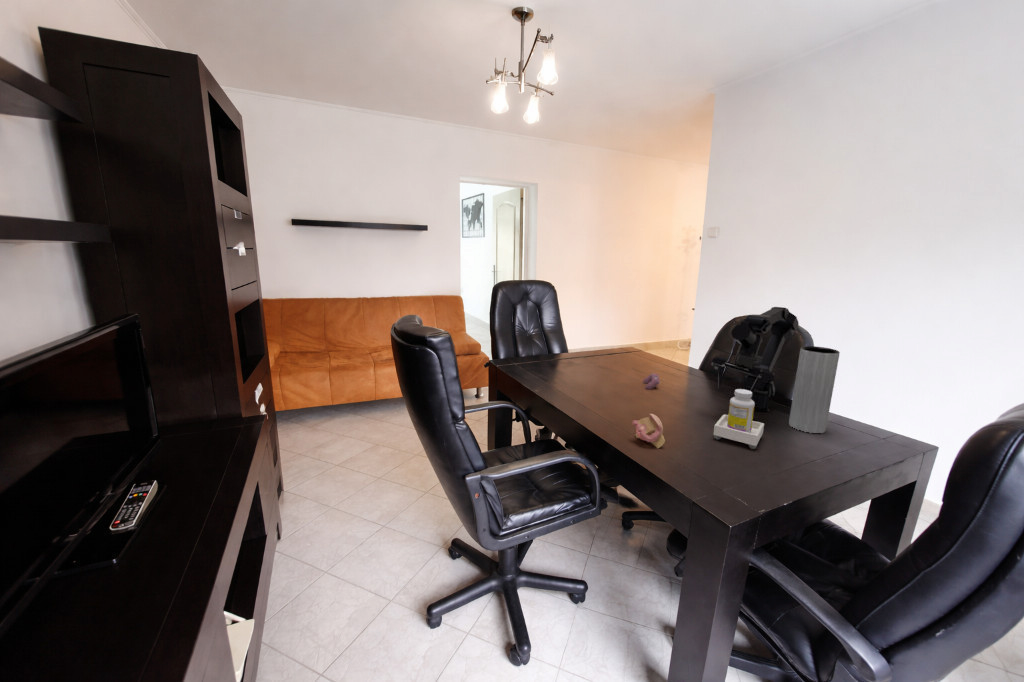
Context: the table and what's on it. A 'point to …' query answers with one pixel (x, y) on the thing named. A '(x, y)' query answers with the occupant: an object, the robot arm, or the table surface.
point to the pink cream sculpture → (650, 430)
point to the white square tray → (738, 432)
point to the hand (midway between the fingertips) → (733, 392)
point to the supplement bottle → (741, 411)
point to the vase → (813, 388)
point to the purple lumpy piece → (651, 381)
